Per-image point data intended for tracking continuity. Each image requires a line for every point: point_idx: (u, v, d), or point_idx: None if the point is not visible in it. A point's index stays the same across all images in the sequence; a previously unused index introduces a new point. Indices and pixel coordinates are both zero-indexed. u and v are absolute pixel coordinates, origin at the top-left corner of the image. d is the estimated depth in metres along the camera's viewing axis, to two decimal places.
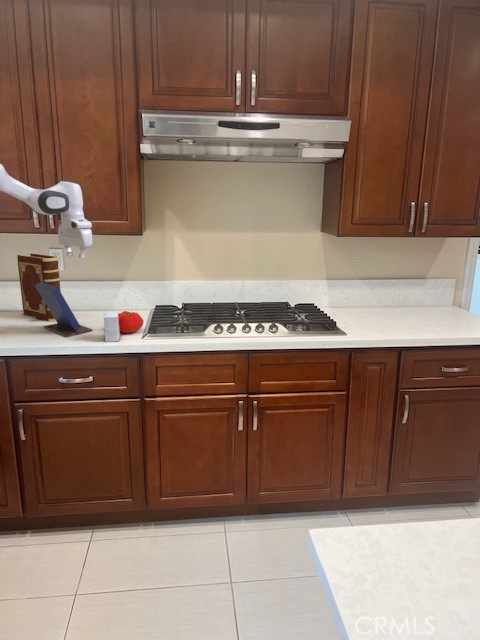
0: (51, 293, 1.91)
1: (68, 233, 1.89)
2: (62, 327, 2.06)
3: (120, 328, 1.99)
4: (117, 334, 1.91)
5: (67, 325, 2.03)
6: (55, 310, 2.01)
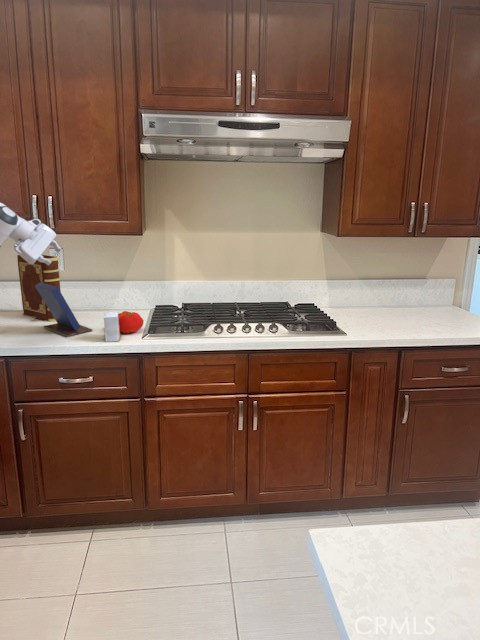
0: (51, 293, 1.91)
1: (34, 240, 1.78)
2: (62, 327, 2.06)
3: (120, 328, 1.99)
4: (117, 334, 1.91)
5: (67, 325, 2.03)
6: (55, 310, 2.01)
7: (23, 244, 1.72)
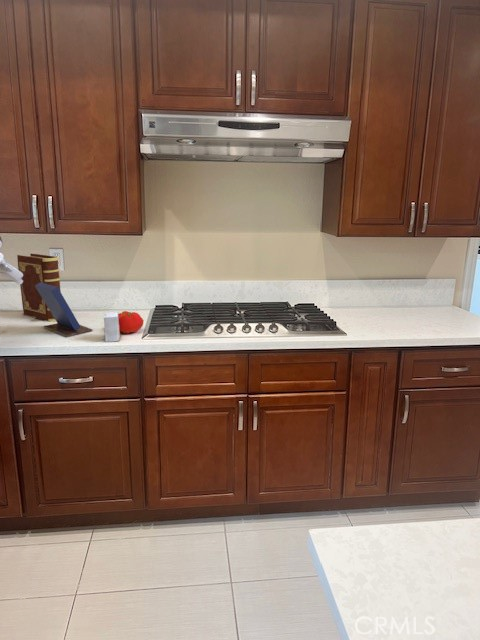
0: (51, 293, 1.91)
1: None
2: (62, 327, 2.06)
3: (120, 328, 1.99)
4: (117, 334, 1.91)
5: (67, 325, 2.03)
6: (55, 310, 2.01)
7: (6, 262, 1.74)
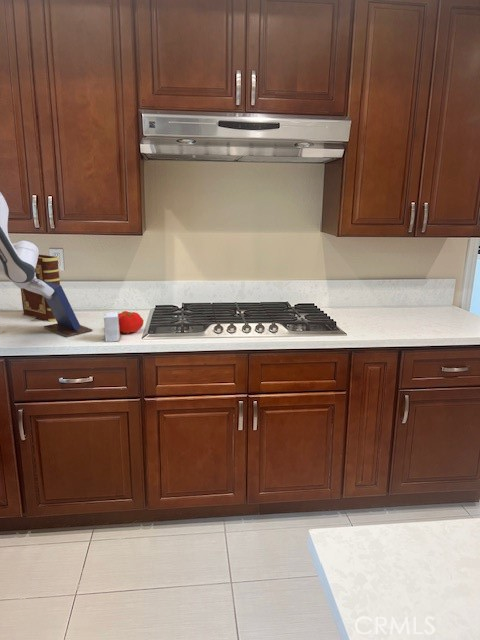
0: (54, 291, 1.92)
1: None
2: (62, 327, 2.06)
3: (120, 328, 1.99)
4: (117, 334, 1.91)
5: (67, 325, 2.03)
6: (56, 309, 2.01)
7: None
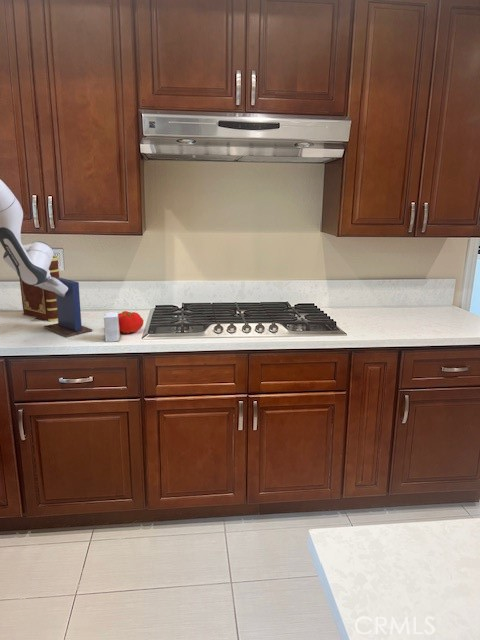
0: (70, 286, 1.97)
1: None
2: (62, 327, 2.06)
3: (120, 328, 1.99)
4: (117, 334, 1.91)
5: (69, 324, 2.03)
6: (64, 306, 2.04)
7: None
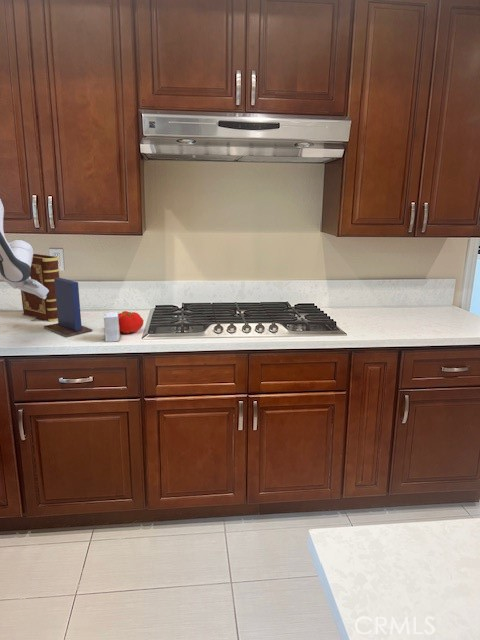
0: (69, 286, 1.97)
1: None
2: (62, 327, 2.06)
3: (120, 328, 1.99)
4: (117, 334, 1.91)
5: (69, 324, 2.03)
6: (64, 306, 2.04)
7: (33, 279, 1.84)
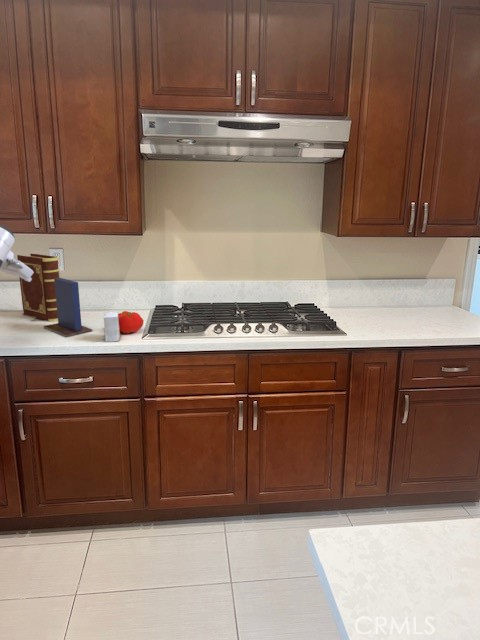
0: (69, 286, 1.97)
1: None
2: (62, 327, 2.06)
3: (120, 328, 1.99)
4: (117, 334, 1.91)
5: (69, 324, 2.03)
6: (64, 306, 2.04)
7: (17, 260, 1.78)
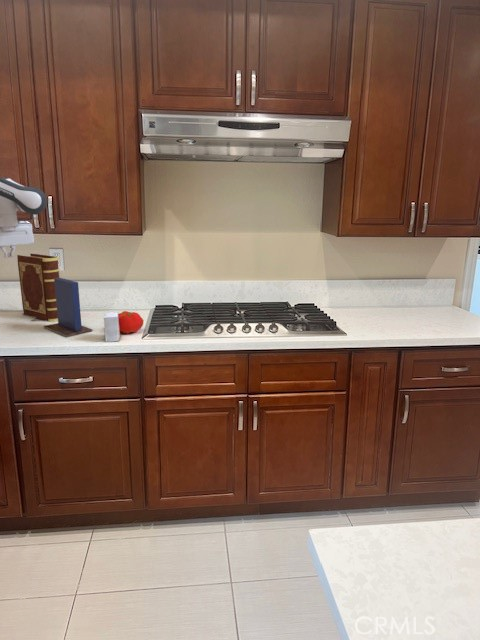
0: (69, 286, 1.97)
1: None
2: (62, 327, 2.06)
3: (120, 328, 1.99)
4: (117, 334, 1.91)
5: (69, 324, 2.03)
6: (64, 306, 2.04)
7: None
